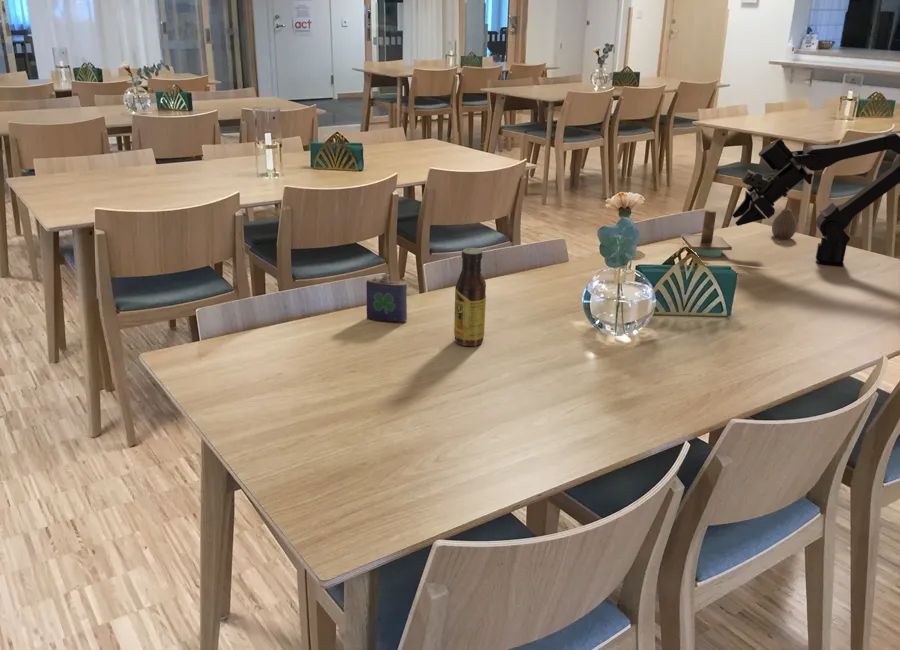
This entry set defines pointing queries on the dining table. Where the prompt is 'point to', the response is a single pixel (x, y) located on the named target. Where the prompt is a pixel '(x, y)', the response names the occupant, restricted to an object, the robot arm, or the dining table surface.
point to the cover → (707, 236)
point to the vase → (784, 225)
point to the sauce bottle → (470, 300)
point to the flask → (386, 300)
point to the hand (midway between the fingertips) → (734, 220)
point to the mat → (689, 235)
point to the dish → (708, 252)
